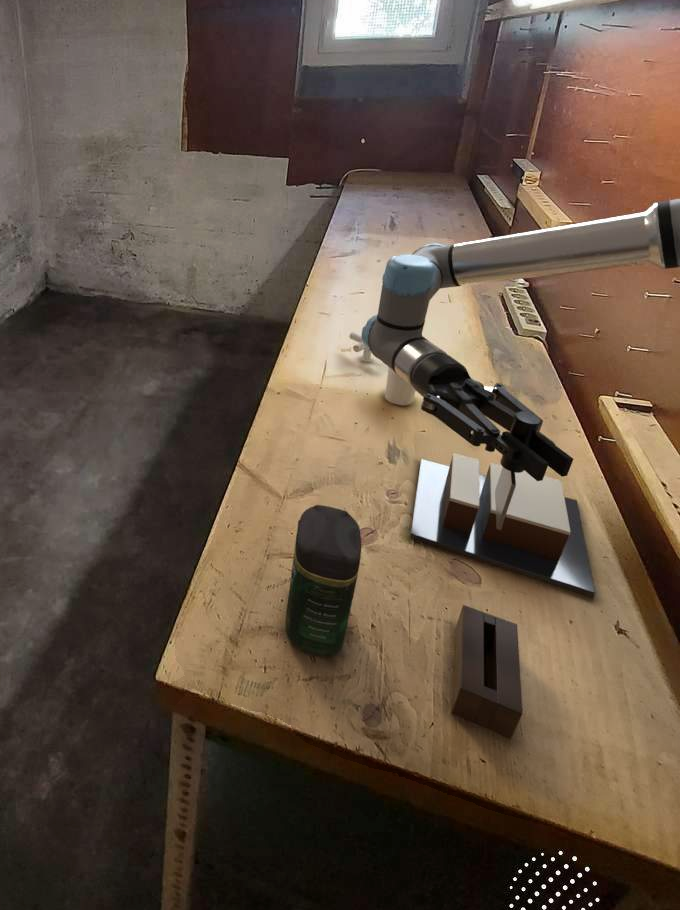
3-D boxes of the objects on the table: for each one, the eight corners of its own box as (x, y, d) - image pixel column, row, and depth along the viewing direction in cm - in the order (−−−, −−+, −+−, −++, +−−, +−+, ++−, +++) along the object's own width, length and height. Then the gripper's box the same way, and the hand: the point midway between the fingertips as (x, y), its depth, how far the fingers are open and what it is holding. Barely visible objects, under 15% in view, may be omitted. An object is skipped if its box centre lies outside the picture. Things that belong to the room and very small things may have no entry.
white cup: (380, 388, 128) (387, 350, 124) (411, 391, 127) (419, 352, 123) (385, 405, 123) (392, 366, 118) (418, 407, 121) (426, 368, 117)
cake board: (575, 504, 95) (576, 500, 95) (593, 597, 80) (595, 593, 79) (420, 462, 106) (421, 458, 105) (409, 538, 90) (410, 533, 90)
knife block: (455, 629, 76) (463, 604, 74) (507, 648, 73) (517, 623, 71) (451, 713, 67) (460, 687, 65) (511, 739, 64) (522, 713, 62)
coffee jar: (344, 667, 72) (365, 566, 64) (281, 649, 75) (293, 550, 66) (345, 602, 80) (364, 506, 72) (289, 588, 83) (300, 493, 74)
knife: (485, 488, 83) (513, 398, 76) (507, 494, 82) (538, 403, 75) (486, 526, 77) (517, 432, 70) (510, 533, 76) (544, 438, 68)
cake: (550, 508, 93) (561, 480, 91) (558, 561, 84) (570, 532, 81) (482, 489, 98) (490, 462, 95) (482, 537, 88) (491, 509, 86)
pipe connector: (396, 362, 138) (403, 326, 134) (371, 375, 133) (377, 338, 129) (361, 346, 146) (366, 312, 141) (336, 358, 141) (341, 323, 137)
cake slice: (471, 486, 98) (479, 459, 96) (470, 534, 89) (479, 506, 86) (446, 479, 100) (453, 452, 98) (442, 525, 91) (450, 497, 88)
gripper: (470, 385, 93) (600, 482, 72) (382, 398, 90) (491, 503, 69) (480, 345, 89) (620, 436, 69) (390, 358, 87) (506, 456, 66)
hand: (555, 469), depth 69 cm, fingers closed on knife, 3 cm apart
